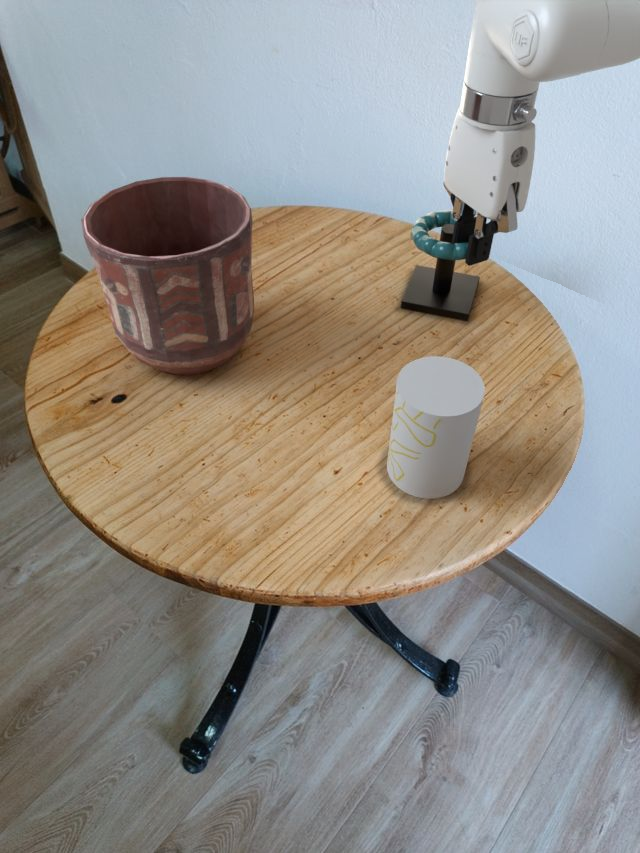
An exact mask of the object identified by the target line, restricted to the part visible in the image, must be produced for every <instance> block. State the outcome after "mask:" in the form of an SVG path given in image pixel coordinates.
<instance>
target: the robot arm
mask: <svg viewBox="0 0 640 853" xmlns="http://www.w3.org/2000/svg"><path fill="white" fill-rule="evenodd" d="M473 10H474V11H473V17H472V24H471V31H470V37H469V43H468V44H469V45H468V50H467V58H466V65H465V72H464V77H463V84H462V91H461V99H460V105H459V106H458V109H457V111H456V114H455V118H454V121H453V123H452V128H451V132H450V136H449V141H448V145H447V150H446V156H445V162H444V170H443V187H444V189H445V190H446V192H447V194H448V195H449V197H450V202H451V205H452V210H453V213H452V218H453V220H454V221H456V223H455V224H454V231H453V237H452V243H454V244H455V243H464V242H469V243H468V248H467V254H466V259H464V260H465V261H464V262H465V264H466V265H467V266H468V267H470V266H474V265H477V264H480V263H483V262H486V261H488V259H489V258H490V254H491V250H492V245H493V241H494V236H495V235H496V234H497V233H504V234H507V233H512V232H515V231H517V230H518V214H517V213H521V212H523V211H524V210H525V207H526V204H527V201H528V197H529V192H530V186H531V180H532V175H533V167H534V160H535V153H536V152H535V151H536V124H535V123H534V122H533V121H534V119H535V118H536V117H537V114H538V113H537V112H538V111H537V109H536V108H535V105H536V100H537V96H538V92H539V87H540V83H549V82H554V81H558V80H562V79H567V78H572V77H576V76H579V75H582V74H583V75H584V74H586V73H591V72H594V71H600V70H603V69H608V68H613V67H617V66H623V65H625V64H629V63H631V62H634V61H636V60H638V59H640V0H475V2H474V9H473ZM474 216H476V217H474ZM487 220H489V222H487ZM486 223H487V224H486Z"/></svg>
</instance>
